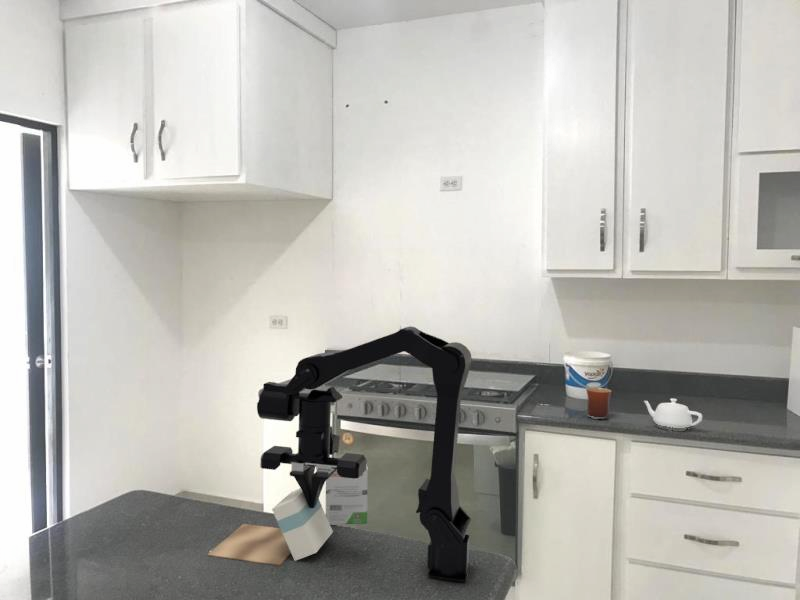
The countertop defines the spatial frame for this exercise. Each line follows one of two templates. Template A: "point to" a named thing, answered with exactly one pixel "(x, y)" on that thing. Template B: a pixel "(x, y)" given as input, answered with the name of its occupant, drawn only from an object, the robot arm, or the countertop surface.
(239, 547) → the board
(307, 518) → the carton
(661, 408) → the teapot
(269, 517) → the countertop surface
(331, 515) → the ink box
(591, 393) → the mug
